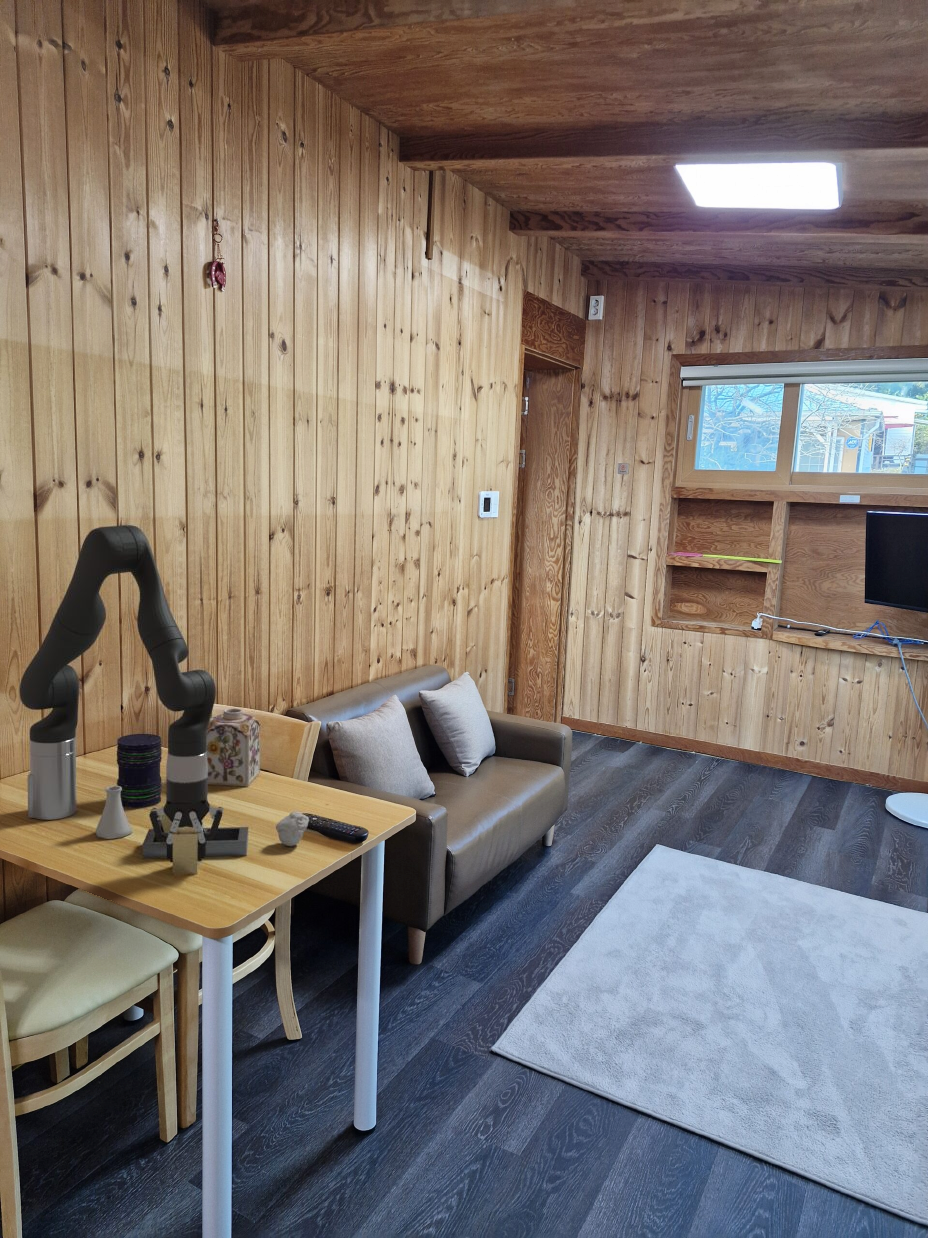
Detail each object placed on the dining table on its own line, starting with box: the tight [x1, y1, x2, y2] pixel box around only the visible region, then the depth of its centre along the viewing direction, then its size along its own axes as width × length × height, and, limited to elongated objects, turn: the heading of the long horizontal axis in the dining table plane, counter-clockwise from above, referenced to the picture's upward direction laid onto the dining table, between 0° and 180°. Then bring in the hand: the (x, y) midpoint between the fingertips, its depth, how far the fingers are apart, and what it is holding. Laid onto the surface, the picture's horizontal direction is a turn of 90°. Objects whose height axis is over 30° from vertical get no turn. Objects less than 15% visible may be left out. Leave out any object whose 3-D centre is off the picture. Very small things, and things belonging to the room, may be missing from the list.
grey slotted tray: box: [142, 826, 249, 859], centre depth 183 cm, size 20×8×3 cm, turn 101°
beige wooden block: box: [172, 826, 201, 876], centre depth 173 cm, size 4×4×8 cm
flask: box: [94, 785, 133, 840], centre depth 189 cm, size 7×7×10 cm
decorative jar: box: [206, 707, 261, 788], centre depth 228 cm, size 12×12×18 cm
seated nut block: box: [159, 805, 172, 842], centre depth 182 cm, size 4×4×8 cm
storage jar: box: [116, 733, 163, 809], centre depth 209 cm, size 10×10×15 cm
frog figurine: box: [275, 811, 310, 847], centre depth 188 cm, size 6×7×7 cm
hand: (186, 860), depth 173 cm, fingers closed on beige wooden block, 4 cm apart
